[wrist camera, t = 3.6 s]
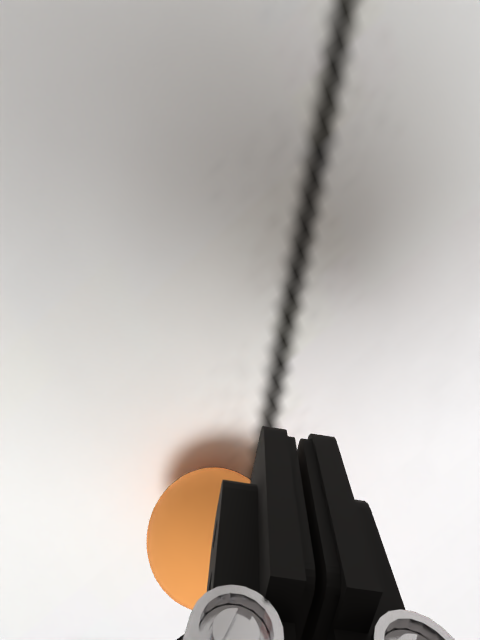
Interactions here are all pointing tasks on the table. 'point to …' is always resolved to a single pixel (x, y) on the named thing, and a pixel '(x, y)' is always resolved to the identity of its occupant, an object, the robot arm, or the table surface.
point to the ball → (186, 533)
